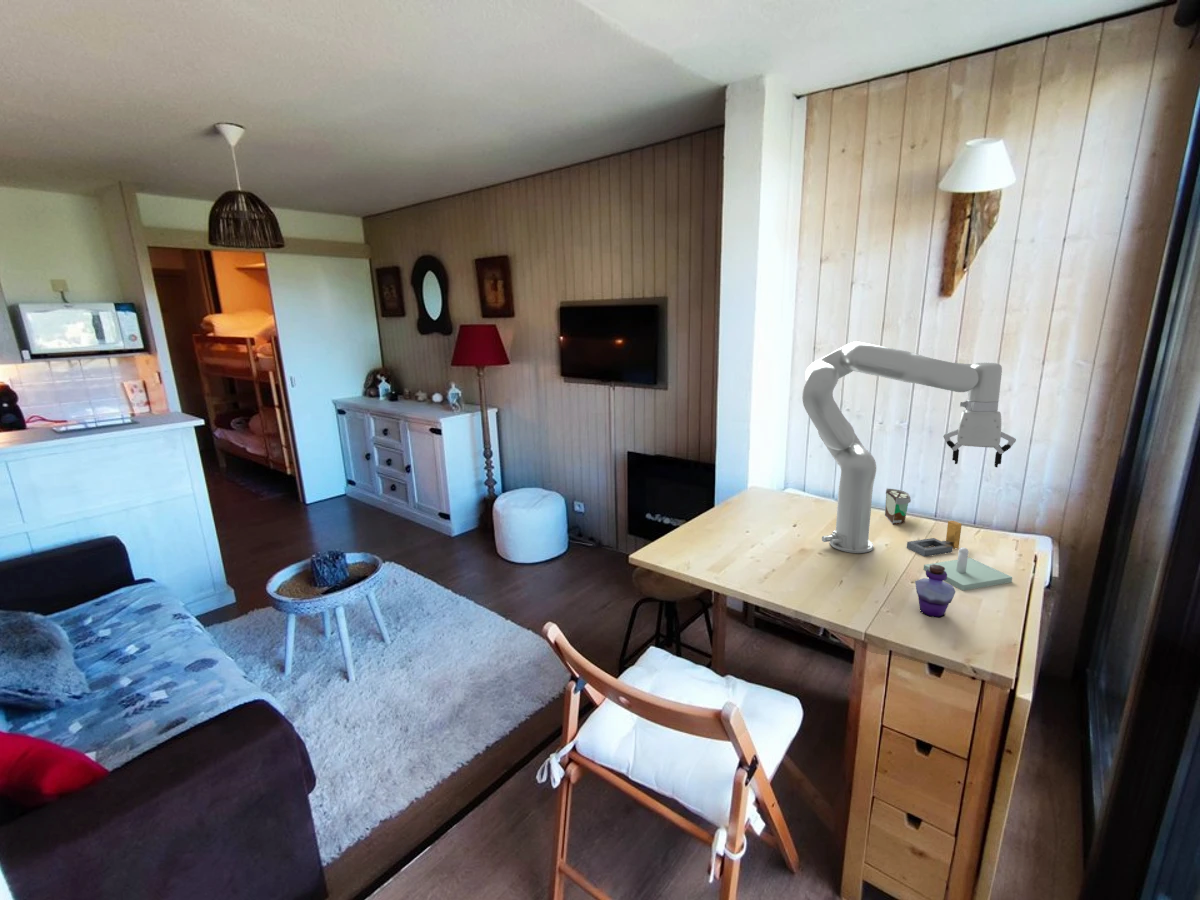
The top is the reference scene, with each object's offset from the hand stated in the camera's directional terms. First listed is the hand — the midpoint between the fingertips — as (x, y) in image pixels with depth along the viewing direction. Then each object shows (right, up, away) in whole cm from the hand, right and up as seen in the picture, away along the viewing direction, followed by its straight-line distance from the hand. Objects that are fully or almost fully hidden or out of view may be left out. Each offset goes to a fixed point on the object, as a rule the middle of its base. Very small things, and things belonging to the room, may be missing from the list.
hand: (975, 464), depth 160 cm
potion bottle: (-28, -36, -26) cm, 52 cm away
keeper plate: (-8, -31, -8) cm, 33 cm away
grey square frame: (-6, -26, +9) cm, 29 cm away
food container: (-4, -21, +34) cm, 40 cm away
